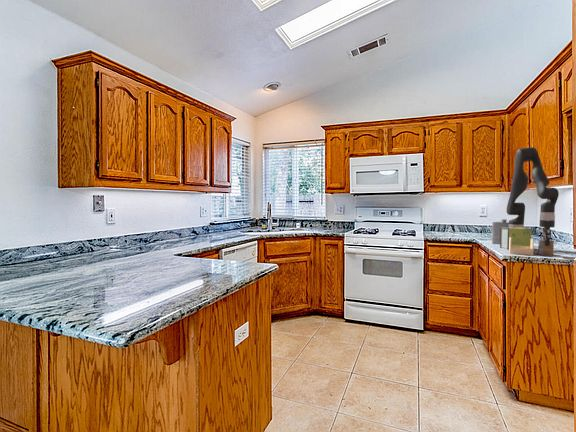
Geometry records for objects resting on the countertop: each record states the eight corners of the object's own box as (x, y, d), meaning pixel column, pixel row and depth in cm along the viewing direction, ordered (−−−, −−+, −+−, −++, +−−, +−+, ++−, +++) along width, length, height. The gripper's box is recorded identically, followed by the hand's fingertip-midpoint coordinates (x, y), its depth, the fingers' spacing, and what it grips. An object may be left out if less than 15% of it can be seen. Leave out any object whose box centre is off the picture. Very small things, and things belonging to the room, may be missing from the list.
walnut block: (538, 253, 212) (538, 239, 212) (552, 254, 209) (552, 240, 208) (539, 254, 208) (539, 240, 208) (553, 255, 204) (553, 241, 204)
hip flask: (515, 245, 257) (516, 219, 256) (515, 245, 254) (516, 219, 253) (492, 243, 268) (492, 218, 267) (491, 243, 265) (492, 219, 264)
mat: (535, 253, 215) (535, 252, 215) (553, 255, 210) (553, 254, 210) (537, 256, 206) (537, 255, 206) (556, 257, 202) (556, 256, 202)
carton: (508, 251, 224) (509, 237, 224) (531, 253, 218) (531, 238, 217) (509, 254, 213) (510, 239, 212) (533, 256, 206) (533, 240, 206)
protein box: (531, 250, 228) (532, 228, 227) (508, 250, 228) (509, 228, 227) (520, 248, 238) (521, 227, 238) (499, 248, 239) (499, 227, 238)
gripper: (538, 218, 215) (537, 243, 216) (541, 220, 203) (540, 246, 204) (552, 219, 211) (551, 244, 212) (556, 220, 199) (555, 247, 200)
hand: (546, 245), depth 208 cm, fingers open, 8 cm apart
